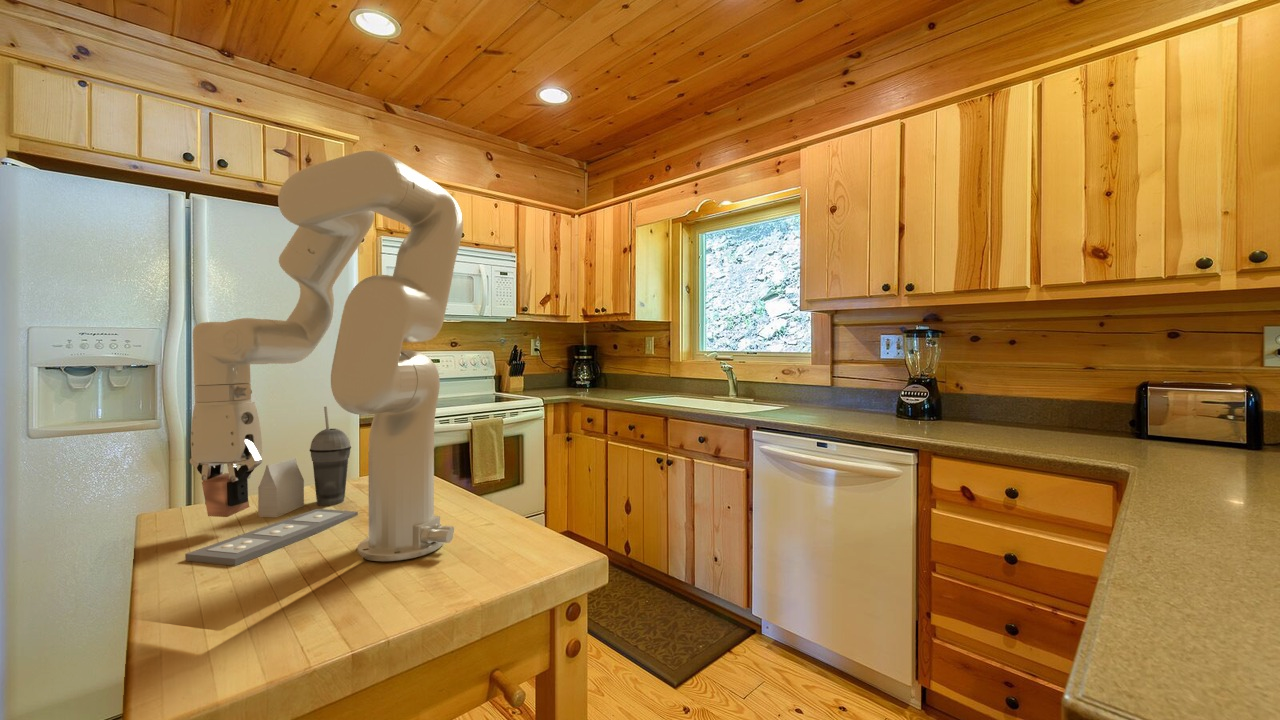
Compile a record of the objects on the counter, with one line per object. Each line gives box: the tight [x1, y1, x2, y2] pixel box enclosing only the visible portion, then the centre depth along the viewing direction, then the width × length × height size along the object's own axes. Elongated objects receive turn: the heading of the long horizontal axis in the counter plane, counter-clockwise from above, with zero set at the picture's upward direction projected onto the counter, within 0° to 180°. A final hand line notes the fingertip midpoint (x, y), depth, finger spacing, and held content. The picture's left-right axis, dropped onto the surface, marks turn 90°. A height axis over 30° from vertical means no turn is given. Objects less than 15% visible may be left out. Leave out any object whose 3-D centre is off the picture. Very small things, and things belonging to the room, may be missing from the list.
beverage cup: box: [309, 405, 352, 507], centre depth 107 cm, size 7×7×20 cm
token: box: [201, 472, 250, 518], centre depth 90 cm, size 4×4×6 cm
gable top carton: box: [257, 458, 305, 518], centre depth 102 cm, size 4×7×10 cm, turn 173°
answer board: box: [184, 508, 359, 567], centre depth 89 cm, size 9×24×1 cm, turn 168°
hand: (226, 502), depth 91 cm, fingers closed on token, 3 cm apart
